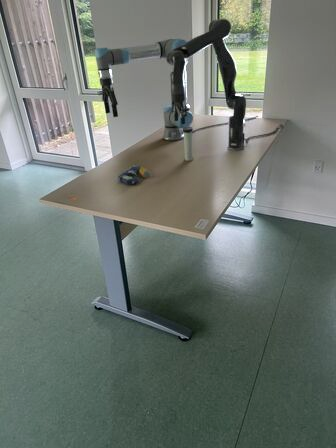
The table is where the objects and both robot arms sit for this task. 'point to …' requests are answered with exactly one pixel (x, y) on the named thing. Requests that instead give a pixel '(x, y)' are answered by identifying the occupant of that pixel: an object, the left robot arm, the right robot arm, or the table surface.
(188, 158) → the bottle
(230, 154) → the table surface
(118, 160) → the table surface
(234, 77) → the right robot arm
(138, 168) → the spray gun
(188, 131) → the lid
